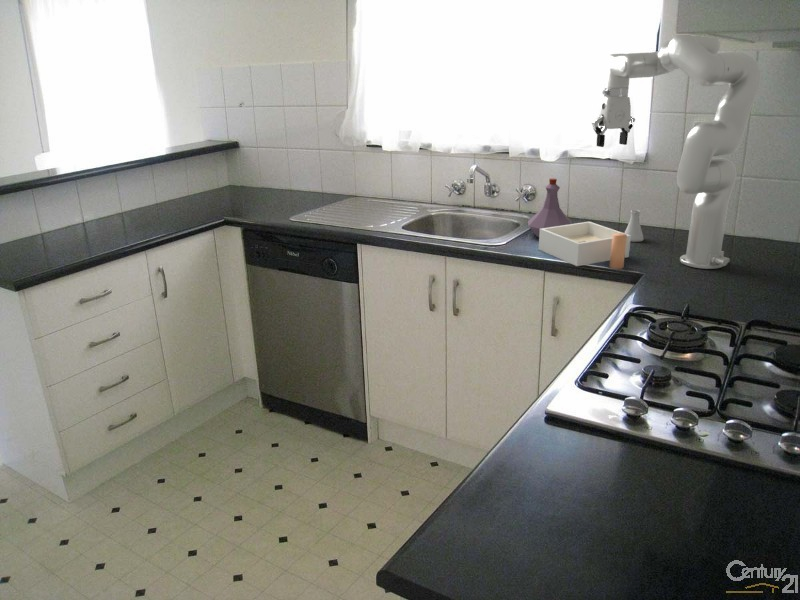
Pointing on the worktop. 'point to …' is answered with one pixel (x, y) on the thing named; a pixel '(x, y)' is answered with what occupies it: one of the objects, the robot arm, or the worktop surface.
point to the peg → (618, 250)
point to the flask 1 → (549, 211)
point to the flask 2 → (634, 227)
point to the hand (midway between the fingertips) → (611, 145)
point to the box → (579, 243)
